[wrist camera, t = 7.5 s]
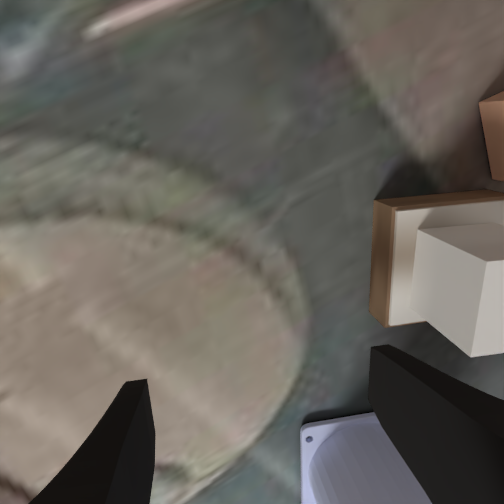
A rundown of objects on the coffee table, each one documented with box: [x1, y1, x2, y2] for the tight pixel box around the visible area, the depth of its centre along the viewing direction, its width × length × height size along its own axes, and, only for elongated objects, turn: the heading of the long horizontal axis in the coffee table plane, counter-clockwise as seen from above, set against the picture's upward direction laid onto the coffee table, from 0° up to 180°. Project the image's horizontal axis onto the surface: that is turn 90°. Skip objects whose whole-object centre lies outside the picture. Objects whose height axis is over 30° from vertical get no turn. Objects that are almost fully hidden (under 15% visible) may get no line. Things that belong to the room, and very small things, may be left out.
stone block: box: [409, 223, 504, 357], centre depth 19 cm, size 4×4×5 cm
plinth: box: [369, 189, 504, 328], centre depth 23 cm, size 7×7×2 cm
